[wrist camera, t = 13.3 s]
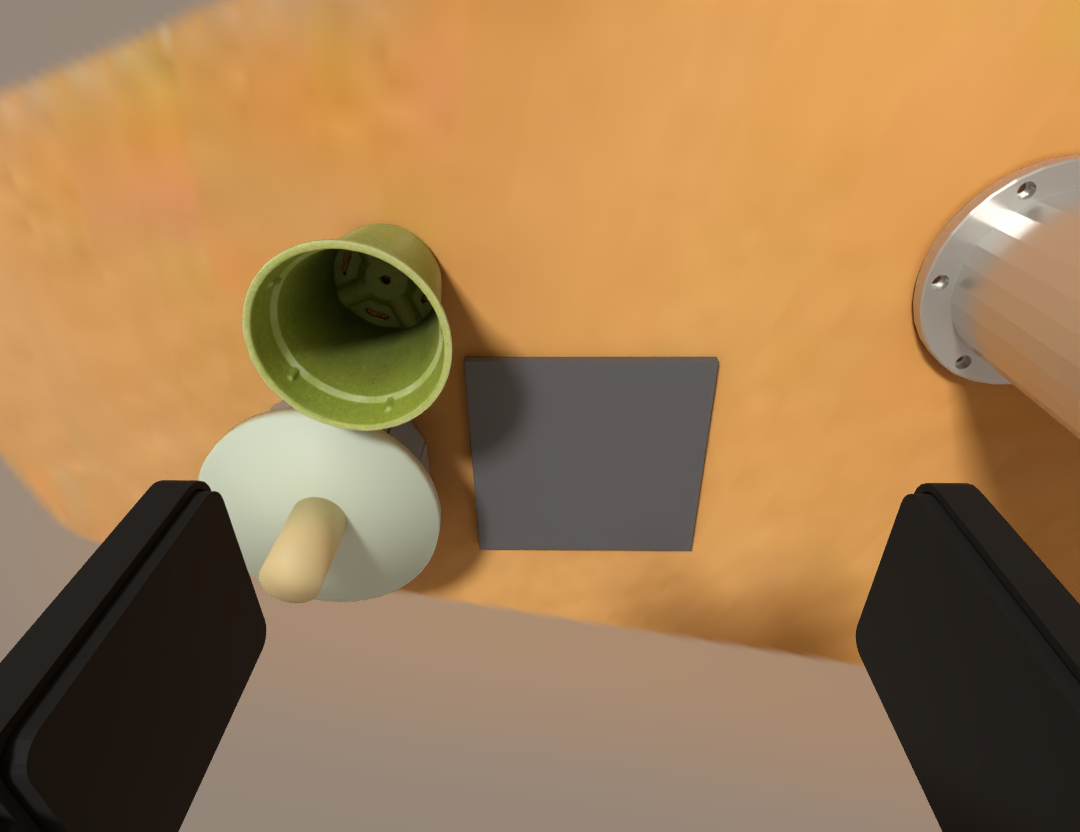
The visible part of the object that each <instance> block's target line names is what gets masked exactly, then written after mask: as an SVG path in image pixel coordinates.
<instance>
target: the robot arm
mask: <svg viewBox="0 0 1080 832" xmlns="http://www.w3.org/2000/svg"><path fill="white" fill-rule="evenodd" d="M913 311H914V322H915V326H916V329H917V332H918V335H919V338H920V340H921V341H922V343H923V344H924V346H925V347H926V349H927V350H928V352H929V353H930V354H931V355H932V356H933V357H934V358H935V359H936V360H937V361H938V362H939V363H940V364H941V365H943V366H944V367H945V368H947V369H948V370H949V371H951V372H952V373H954V374H956V375H958V376H961V377H963V378H966V379H968V380H971V381H974V382H980V383H985V384H991V385H1014V386H1015V387H1017V388H1018V389H1019V390H1020V391H1021V392H1023V393H1024V394H1025V395H1026V396H1027V397H1029V398H1030V399H1031V400H1032V401H1034V402H1035V403H1036V404H1037V405H1038V406H1040V407H1041V408H1042V409H1043V410H1044V411H1046V412H1047V413H1048V414H1049V415H1051V416H1052V417H1053V418H1054V419H1055V420H1057V421H1058V422H1059V423H1060V424H1062V425H1063V426H1064V427H1065V428H1066V429H1068V430H1069V431H1070V432H1071V433H1072V434H1074V435H1075V436H1076V437H1077V438H1079V439H1080V154H1078V155H1067V156H1062V157H1056V158H1051V159H1046V160H1043V161H1040V162H1038V163H1035V164H1032V165H1030V166H1027V167H1024V168H1021V169H1019V170H1017V171H1015V172H1013V173H1011V174H1010V175H1008V176H1006V177H1004V178H1002V179H1000V180H999V181H997V182H995V183H993V184H992V185H991V186H989V187H988V188H987V189H985V190H984V191H982V192H981V193H980V194H978V195H977V196H976V197H974V198H973V199H972V200H971V201H970V202H968V203H967V204H966V205H965V206H964V207H963V208H962V209H961V210H960V211H959V212H958V213H957V214H956V215H955V216H954V217H953V218H952V219H951V220H950V222H949V223H948V224H947V225H946V227H945V228H944V229H943V231H942V232H941V233H940V235H939V236H938V237H937V238H936V240H935V241H934V243H933V245H932V247H931V249H930V250H929V252H928V254H927V256H926V258H925V259H924V261H923V264H922V267H921V270H920V273H919V275H918V278H917V281H916V286H915V292H914V299H913ZM265 638H266V623H265V619H264V617H263V614H262V611H261V608H260V605H259V602H258V599H257V596H256V593H255V590H254V587H253V584H252V581H251V578H250V576H249V573H248V570H247V567H246V564H245V561H244V558H243V555H242V552H241V549H240V546H239V543H238V541H237V538H236V535H235V532H234V529H233V526H232V523H231V520H230V517H229V514H228V511H227V508H226V505H225V503H224V500H223V498H222V496H221V494H220V493H219V492H216V491H211V489H210V487H209V485H208V484H207V483H206V482H203V481H179V480H162V481H158V482H156V483H154V484H153V485H152V486H151V487H150V488H149V489H148V490H147V491H146V493H145V494H144V495H143V496H142V497H141V498H140V500H139V501H138V502H137V503H136V504H135V506H134V507H133V508H132V509H131V510H130V511H129V513H128V514H127V515H126V516H125V517H124V518H123V520H122V521H121V522H120V523H119V524H118V525H117V527H116V528H115V529H114V530H113V531H112V532H111V534H110V535H109V536H108V537H107V538H106V540H105V541H104V542H103V543H102V544H101V545H100V547H99V548H98V549H97V550H96V551H95V553H94V554H93V555H92V556H91V557H90V558H89V559H88V561H87V562H86V563H85V564H84V565H83V566H82V568H81V569H80V570H79V571H78V572H77V574H76V575H75V576H74V577H73V578H72V579H71V581H70V582H69V583H68V584H67V585H66V586H65V588H64V589H63V590H62V591H61V592H60V593H59V595H58V596H57V597H56V598H55V599H54V600H53V602H52V603H51V604H50V605H49V606H48V608H47V609H46V610H45V611H44V612H43V613H42V615H41V616H40V617H39V618H38V619H37V620H36V622H35V623H34V624H33V625H32V626H31V628H30V629H29V630H28V631H27V632H26V633H25V635H24V636H23V637H22V638H21V639H20V640H19V642H18V643H17V644H16V645H15V646H14V648H13V649H12V650H11V651H10V652H9V653H8V654H7V656H6V657H5V658H4V659H3V660H2V662H1V663H0V832H178V831H179V829H180V827H181V825H182V823H183V821H184V818H185V816H186V814H187V812H188V810H189V807H190V805H191V803H192V801H193V799H194V797H195V794H196V792H197V790H198V788H199V786H200V784H201V781H202V779H203V777H204V775H205V773H206V771H207V768H208V766H209V764H210V762H211V760H212V758H213V755H214V753H215V751H216V749H217V747H218V745H219V742H220V740H221V738H222V736H223V734H224V732H225V729H226V727H227V725H228V723H229V721H230V719H231V716H232V714H233V712H234V710H235V707H236V706H237V703H238V701H239V699H240V697H241V695H242V693H243V690H244V688H245V686H246V684H247V682H248V680H249V677H250V675H251V673H252V671H253V669H254V667H255V664H256V662H257V659H258V658H259V655H260V653H261V651H262V649H263V646H264V643H265ZM856 644H857V648H858V652H859V654H860V657H861V659H862V661H863V663H864V665H865V668H866V670H867V672H868V674H869V676H870V678H871V680H872V682H873V685H874V686H875V689H876V691H877V693H878V695H879V697H880V699H881V702H882V703H883V706H884V708H885V710H886V712H887V714H888V717H889V719H890V721H891V723H892V725H893V727H894V729H895V731H896V733H897V736H898V738H899V740H900V742H901V744H902V746H903V748H904V751H905V753H906V755H907V757H908V759H909V761H910V763H911V765H912V768H913V770H914V772H915V774H916V776H917V778H918V780H919V783H920V785H921V786H922V789H923V791H924V793H925V795H926V797H927V800H928V802H929V804H930V806H931V808H932V810H933V812H934V814H935V817H936V819H937V821H938V823H939V825H940V827H941V829H942V832H1080V604H1079V603H1078V602H1077V601H1076V600H1075V599H1074V597H1073V596H1072V595H1071V594H1070V593H1069V592H1068V591H1067V589H1066V588H1065V587H1064V586H1063V585H1062V584H1061V583H1060V581H1059V580H1058V579H1057V578H1056V577H1055V576H1054V575H1053V574H1052V572H1051V571H1050V570H1049V569H1048V568H1047V567H1046V566H1045V564H1044V563H1043V562H1042V561H1041V560H1040V559H1039V558H1038V556H1037V555H1036V554H1035V553H1034V552H1033V551H1032V550H1031V548H1030V547H1029V546H1028V545H1027V544H1026V543H1025V542H1024V541H1023V539H1022V538H1021V537H1020V536H1019V535H1018V534H1017V533H1016V531H1015V530H1014V529H1013V528H1012V527H1011V526H1010V525H1009V523H1008V522H1007V521H1006V520H1005V519H1004V518H1003V517H1002V516H1001V514H1000V513H999V512H998V511H997V510H996V509H995V508H994V506H993V505H992V504H991V503H990V502H989V501H988V500H987V498H986V497H985V496H984V495H983V494H982V493H981V492H980V491H979V490H978V489H977V488H976V487H975V486H974V485H971V484H967V483H925V484H921V485H920V486H919V487H918V488H917V489H916V491H915V493H914V494H909V495H907V496H905V497H904V499H903V501H902V503H901V505H900V508H899V511H898V514H897V516H896V519H895V522H894V525H893V528H892V530H891V533H890V536H889V539H888V542H887V544H886V547H885V550H884V553H883V556H882V558H881V561H880V564H879V567H878V570H877V572H876V575H875V578H874V581H873V583H872V586H871V589H870V592H869V595H868V597H867V600H866V603H865V606H864V609H863V611H862V614H861V617H860V620H859V623H858V625H857V629H856Z"/></svg>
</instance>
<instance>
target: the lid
mask: <svg viewBox="0 0 1080 832" xmlns="http://www.w3.org/2000/svg"><path fill="white" fill-rule="evenodd" d="M198 481H203V482H206V483H207V484H208V485H209V487H210V489H211V491H216V492H219V493H220V494H221V496H222V498H223V500H224V503H225V505H226V508H227V511H228V514H229V517H230V520H231V523H232V526H233V529H234V532H235V535H236V538H237V541H238V543H239V546H240V549H241V552H242V555H243V558H244V561H245V564H246V567H247V570H248V573H249V574H251V575H252V576H254V577H255V578H257V579H259V581H260V583H261V585H262V587H263V588H264V589H265V591H266V592H267V593H269V594H270V595H271V596H273V597H275V598H277V599H279V600H282V601H285V602H289V603H304V602H308V601H310V600H312V599H315V600H322V601H333V602H348V601H349V602H350V601H360V600H368V599H372V598H376V597H380V596H383V595H386V594H388V593H391V592H394V591H395V590H397V589H399V588H401V587H403V586H405V585H406V584H408V583H409V582H410V581H412V580H413V579H414V578H415V577H416V576H418V575H419V574H420V573H421V572H422V571H423V569H424V568H425V567H426V565H427V564H428V563H429V561H430V559H431V557H432V555H433V553H434V551H435V548H436V545H437V541H438V537H439V532H440V526H441V506H440V501H439V496H438V493H437V491H436V488H435V485H434V483H433V481H432V479H431V477H430V476H429V474H428V472H427V471H426V469H425V468H424V467H423V465H422V464H421V462H420V461H419V460H418V459H417V458H416V457H415V456H414V455H413V454H412V453H411V451H410V450H409V449H408V448H406V447H405V446H404V445H403V444H402V443H400V442H399V441H398V440H397V439H395V438H394V437H392V436H391V435H389V434H388V433H386V432H385V431H383V430H382V429H381V430H373V431H360V430H349V429H342V428H337V427H333V426H331V425H328V424H324V423H321V422H319V421H316V420H314V419H311V418H309V417H307V416H305V415H304V414H302V413H300V412H299V411H297V410H296V409H294V408H284V409H278V410H273V411H268V412H265V413H262V414H258V415H255V416H253V417H251V418H249V419H247V420H245V421H243V422H241V423H239V424H238V425H236V426H235V427H233V428H232V429H231V430H229V431H228V432H227V433H226V434H225V435H224V436H223V437H222V438H221V439H220V441H219V442H218V443H217V444H216V446H215V447H214V448H213V450H212V451H211V452H210V454H209V455H208V457H207V458H206V459H205V462H204V464H203V466H202V468H201V470H200V474H199V479H198Z"/></svg>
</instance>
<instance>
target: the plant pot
mask: <svg viewBox="0 0 1080 832" xmlns="http://www.w3.org/2000/svg"><path fill="white" fill-rule="evenodd" d="M347 252H349V253H351V255H352V257H351V259H350V261H349V264H348V269H347V271H346V273H347V274H346V275H344V273H343V271H342V260H343V258H344V255H345V254H346V253H347ZM382 276H388V277H389V278H390V283H389V284H385V283H383V282H382V280H381V278H382ZM424 294H425V295H426V297H427V298H428V301H427V302H425V303H422V301H421V299H422V297H423V295H424ZM441 296H442V277H441V271H440V268H439V266H438V263H437V261H436V259H435V257H434V256H433V254H432V253H431V251H430V249H429V248H428V246H427V245H426V244H425V243H424V242H423V241H422V240H421V239H420V238H419V237H417V236H416V235H414V234H413V233H411V232H409V231H408V230H405V229H403V228H401V227H397V226H394V225H389V224H371V225H367V226H364V227H361V228H358V229H356V230H354V231H352V232H350V233H348V234H346V235H344V236H343V237H341V238H339V239H323V240H315V241H310V242H305V243H302V244H298V245H296V246H294V247H291V248H289V249H287V250H285V251H283V252H281V253H280V254H278V255H277V256H275V257H274V258H272V259H271V260H270V261H269V262H267V263H266V264H265V265H264V266H263V267H262V268H261V270H260V271H259V272H258V273H257V275H256V276H255V278H254V279H253V281H252V283H251V285H250V287H249V289H248V292H247V294H246V297H245V301H244V306H243V319H242V325H243V334H244V339H245V342H246V345H247V349H248V352H249V354H250V357H251V360H252V362H253V364H254V366H255V367H256V369H257V371H258V373H259V374H260V375H261V377H262V378H263V380H264V381H265V382H266V383H267V385H268V386H269V387H270V388H271V389H272V390H273V391H274V392H275V393H276V394H277V395H278V396H279V397H280V398H281V399H282V400H284V401H285V402H287V403H288V404H289V405H290V406H292V407H293V408H294V409H296V410H297V411H299V412H300V413H302V414H304V415H305V416H307V417H309V418H311V419H314V420H316V421H319V422H321V423H324V424H328V425H331V426H333V427H337V428H342V429H349V430H360V431H373V430H381V429H385V428H391V427H394V426H398V425H401V424H403V423H406V422H408V421H410V420H412V419H413V418H415V417H417V416H418V415H420V414H421V413H423V412H424V411H425V410H426V409H428V408H429V407H430V406H431V405H432V404H433V403H434V401H435V400H436V399H437V398H438V396H439V395H440V393H441V391H442V390H443V388H444V386H445V384H446V381H447V379H448V376H449V373H450V368H451V363H452V335H451V328H450V325H449V321H448V318H447V315H446V313H445V310H444V308H443V306H442V304H441ZM367 308H370V309H372V310H375V311H377V312H380V313H383V314H387V315H389V318H388V319H383V318H379V317H374V316H372V315H370V314H368V313H367V311H366V309H367Z"/></svg>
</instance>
